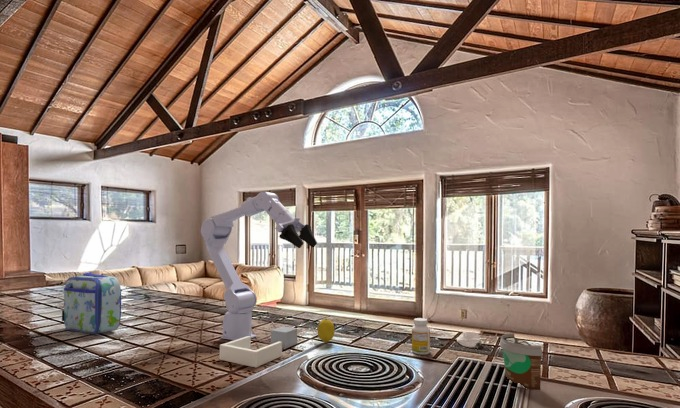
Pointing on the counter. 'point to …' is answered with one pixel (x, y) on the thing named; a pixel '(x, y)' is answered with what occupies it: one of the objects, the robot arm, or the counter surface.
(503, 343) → the food container
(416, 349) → the supplement bottle
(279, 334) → the light grey cube
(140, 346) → the counter surface
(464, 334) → the whipped cream
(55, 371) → the counter surface
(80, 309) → the lunch box
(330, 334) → the lemon
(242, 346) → the tray
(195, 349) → the counter surface
